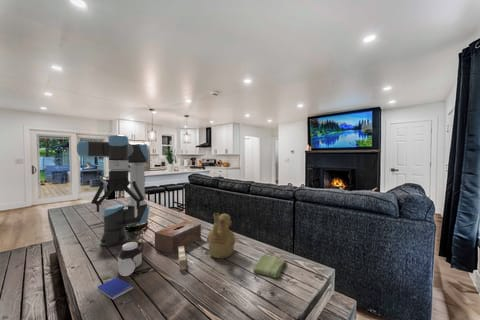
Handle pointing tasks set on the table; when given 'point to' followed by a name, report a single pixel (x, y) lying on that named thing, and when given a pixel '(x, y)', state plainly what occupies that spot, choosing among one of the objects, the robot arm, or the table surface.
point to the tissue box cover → (177, 236)
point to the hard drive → (115, 288)
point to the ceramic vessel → (221, 237)
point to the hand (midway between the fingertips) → (119, 217)
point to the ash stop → (181, 258)
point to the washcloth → (269, 266)
